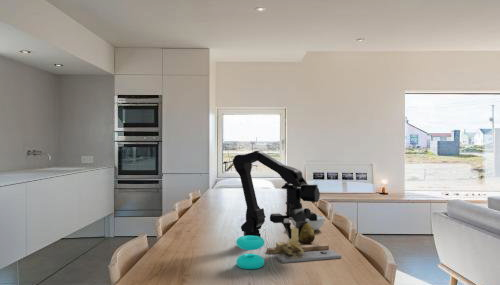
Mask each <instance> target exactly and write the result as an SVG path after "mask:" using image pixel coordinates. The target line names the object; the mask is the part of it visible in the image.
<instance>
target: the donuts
mask: <svg viewBox="0 0 500 285" xmlns="http://www.w3.org/2000/svg"><path fill="white" fill-rule="evenodd" d="M235 243H236V245H237V247H238V248H240V249H241V250H245V251H246V250H247V251H255V250H259V249H260V248H262V247H263V246H264V245H265V240H264V238H263V237H259V236H253V235H248V236H244V235H241V236H239V237H238V238H237V239H236V241H235ZM235 263H236V265H237V266H238V268H240V269H243V270H257V269H260V268H262V267H263V266H264V264H265V259H264V258H263V257H262V255H259V254H255V253H244V254H241V255H239V256H238V257H237V259H236V261H235Z"/></svg>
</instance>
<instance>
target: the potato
mask: <svg viewBox="0 0 500 285" xmlns="http://www.w3.org/2000/svg"><path fill="white" fill-rule="evenodd" d="M315 239H316V236H315V231H313V228H312V227H311V226H310V224H309V223H306V224H305V225H304V226H303V227H302V230H301V232H300V235H299V238H298V241H299V240H300V242H303V243H306V244H311V243H313V242H314V240H315Z"/></svg>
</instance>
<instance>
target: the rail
mask: <svg viewBox="0 0 500 285" xmlns="http://www.w3.org/2000/svg"><path fill="white" fill-rule="evenodd" d="M301 248H302V249H303V250H304V252H311V251H324V250H330V246H329V245H328V244H327V243H318V244H305V245H304V244H303V245H302V244H301ZM266 252H267V253H268V254H269V255H271V254H285V253H289V255H291V253H298V252H299V251H298V250H296V249H295V248H290V247H289V246H288V244H287V242H285V241H279V242H278V241H276V242H275V246H273V247H266Z"/></svg>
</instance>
